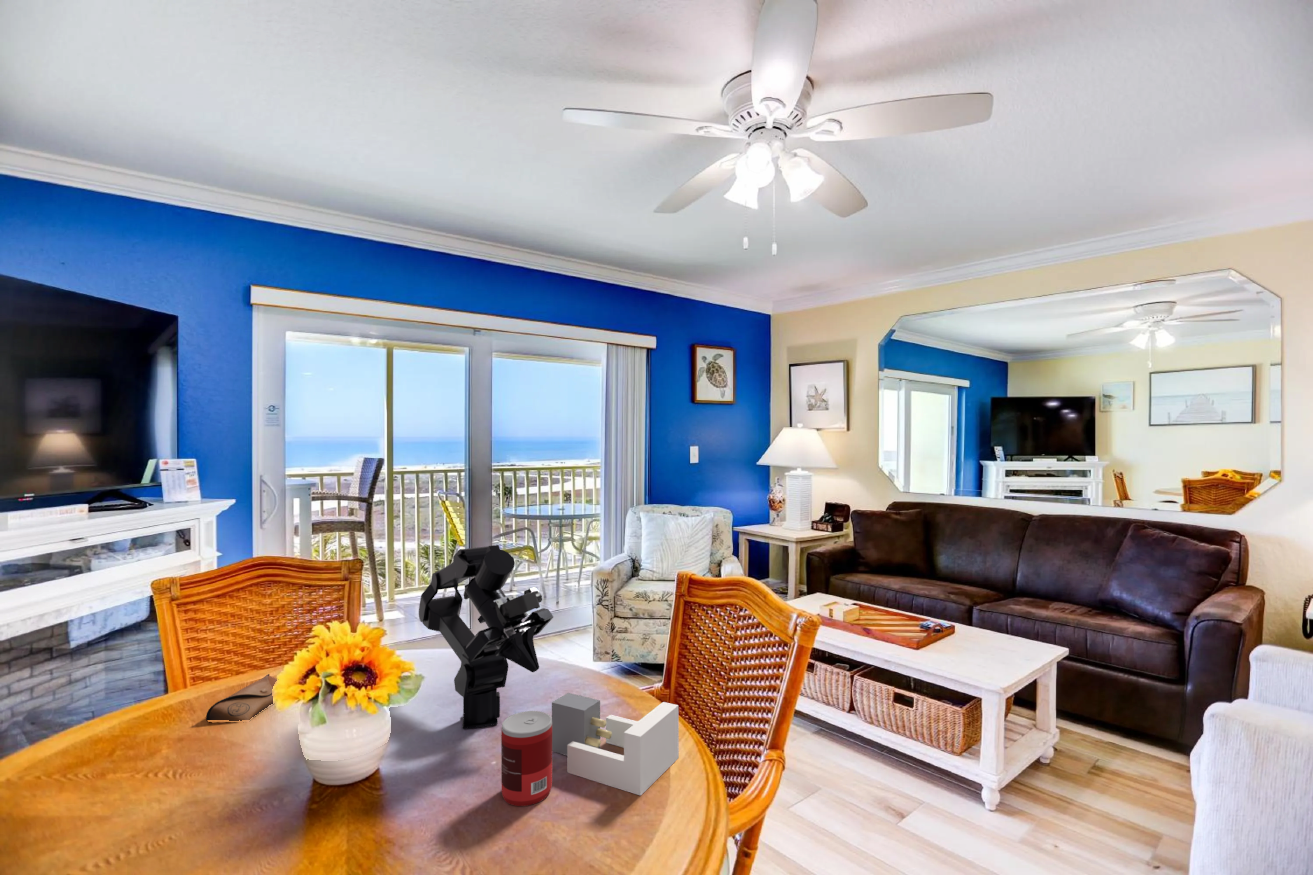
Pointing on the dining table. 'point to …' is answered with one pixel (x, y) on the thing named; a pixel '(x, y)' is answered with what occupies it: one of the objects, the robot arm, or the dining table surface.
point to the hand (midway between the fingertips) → (536, 670)
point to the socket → (630, 751)
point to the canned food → (526, 758)
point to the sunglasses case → (244, 702)
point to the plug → (576, 722)
